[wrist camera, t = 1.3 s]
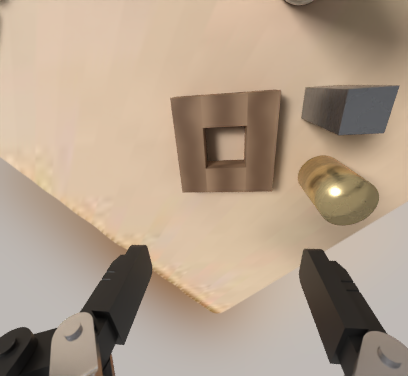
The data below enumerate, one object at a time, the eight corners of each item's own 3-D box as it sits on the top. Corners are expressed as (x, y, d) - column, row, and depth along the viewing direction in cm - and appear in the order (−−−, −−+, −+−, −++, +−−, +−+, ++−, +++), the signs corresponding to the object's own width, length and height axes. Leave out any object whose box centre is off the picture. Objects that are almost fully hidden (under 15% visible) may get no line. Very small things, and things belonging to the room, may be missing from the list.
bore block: (275, 89, 28) (281, 90, 25) (267, 181, 34) (271, 191, 31) (176, 96, 30) (170, 98, 27) (186, 183, 36) (182, 192, 33)
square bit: (337, 85, 27) (399, 85, 17) (330, 116, 29) (383, 133, 19) (305, 87, 27) (348, 88, 18) (301, 118, 29) (338, 135, 19)
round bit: (345, 154, 31) (386, 179, 23) (336, 192, 34) (369, 225, 26) (300, 156, 32) (325, 180, 24) (295, 192, 35) (315, 225, 27)
